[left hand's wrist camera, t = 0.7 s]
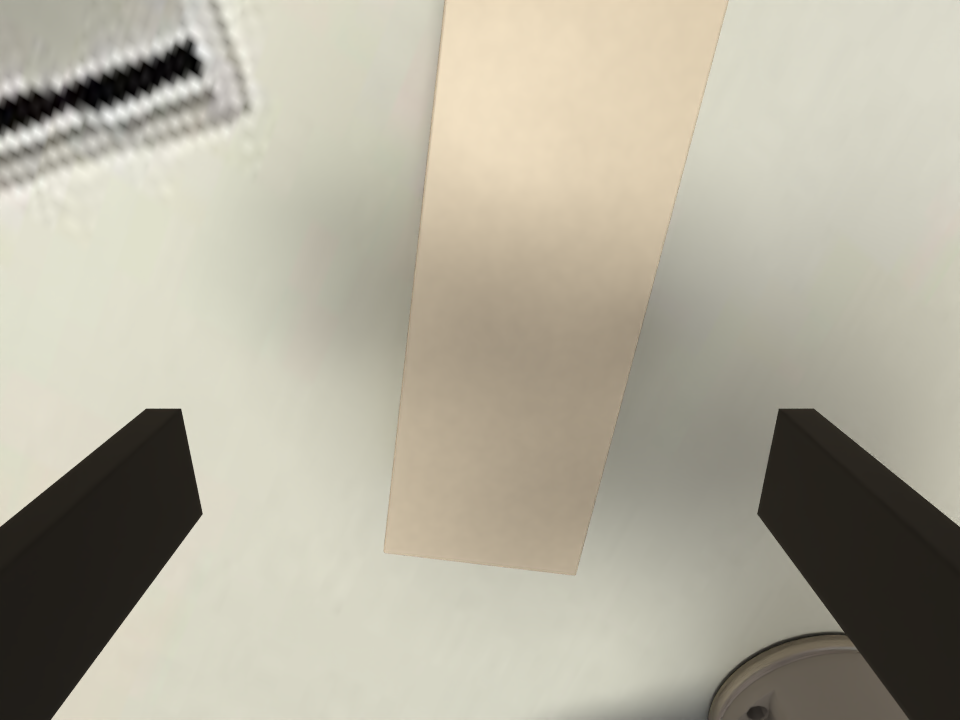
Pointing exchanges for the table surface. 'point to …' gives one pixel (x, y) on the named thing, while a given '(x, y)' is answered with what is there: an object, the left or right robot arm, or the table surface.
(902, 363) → the table surface
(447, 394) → the thick board
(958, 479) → the table surface
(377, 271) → the table surface
